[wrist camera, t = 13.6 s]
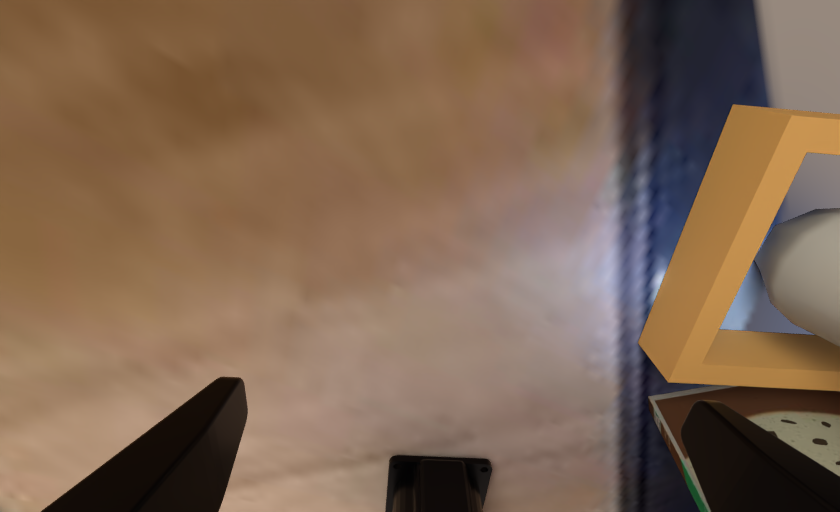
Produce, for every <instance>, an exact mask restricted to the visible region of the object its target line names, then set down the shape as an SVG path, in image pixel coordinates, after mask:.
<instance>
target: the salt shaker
mask: <svg viewBox="0 0 840 512" xmlns="http://www.w3.org/2000/svg"><path fill="white" fill-rule="evenodd" d="M754 260H755V262H756V264H757V266H758V268H759V270H760V272H761V275H762V278H763V281H764V284H765V287H766V290H767V293H768V296H769V299H770V302H771V303H772V304H773V305H774V306H775V307H776V308H777V309H778V310H779V311H780V312H781V313H782V314H783V315H784V316H785V317H786V318H787V319H788V320H789V321H790V322H792V323H793V324H795V325H796V326H799V327H801V328H803V329H805V330H807V331H809V332H811V333H813V334H815V335H817V336H819V337H821V338H823V339H825V340H827V341H829V342H831V343H833V344H835V345H837V346H839V347H840V208H834V209H815V210H813V211H810V212H807V213H805V214H803V215H800V216H798V217H795V218H793V219H790V220H788V221H785V222H783V223H780V224H778V225H775V226H774V228H773V229H772V231H771V233H770V234H769V236H768V237H767V239H766V241H765V242H764V244H763V245H762V247H761V248H760V250H759V252H758V253H757V255H756V256H755V258H754Z"/></svg>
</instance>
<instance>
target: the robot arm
mask: <svg viewBox="0 0 840 512" xmlns="http://www.w3.org/2000/svg"><path fill="white" fill-rule="evenodd" d="M247 414H248V408H247V400H246V393H245V386H244V382H243V380H242V379H241V378H238V377H220V378H218V379H216V380H215V381H213V382H212V383H211V384H209V385H208V386H207V387H205V388H204V389H203V390H201V391H200V392H199V393H197V394H196V395H195V396H193V397H192V398H191V399H189V400H188V401H187V402H185V403H184V404H183V405H182V406H180V407H179V408H178V409H176V410H175V411H174V412H172V413H171V414H170V415H168V416H167V417H166V418H164V419H163V420H162V421H160V422H159V423H158V424H156V425H155V426H154V427H152V428H151V429H150V430H148V431H147V432H146V433H144V434H143V435H142V436H140V437H139V438H138V439H136V440H135V441H134V442H132V443H131V444H130V445H128V446H127V447H126V448H124V449H123V450H122V451H120V452H119V453H118V454H116V455H115V456H114V457H112V458H111V459H110V460H109V461H107V462H106V463H105V464H103V465H102V466H101V467H99V468H98V469H97V470H95V471H94V472H93V473H91V474H90V475H89V476H87V477H86V478H85V479H83V480H82V481H81V482H79V483H78V484H77V485H75V486H74V487H73V488H71V489H70V490H69V491H67V492H66V493H65V494H63V495H62V496H61V497H59V498H58V499H57V500H55V501H54V502H53V503H51V504H50V505H49V506H47V507H46V508H45V509H43V510H42V511H41V512H218V511H219V509H220V506H221V504H222V501H223V498H224V494H225V491H226V488H227V485H228V481H229V478H230V475H231V471H232V468H233V464H234V461H235V458H236V454H237V451H238V448H239V444H240V441H241V437H242V434H243V431H244V427H245V424H246V420H247ZM681 439H682V442H683V445H684V447H685V450H686V452H687V454H688V457H689V459H690V462H691V464H692V467H693V469H694V472H695V474H696V477H697V479H698V481H699V484H700V486H701V489H702V491H703V494H704V496H705V499H706V501H707V503H708V506H709V508H710V510H711V512H840V476H838V475H837V474H835V473H834V472H832V471H830V470H829V469H827V468H826V467H824V466H822V465H821V464H819V463H818V462H816V461H814V460H813V459H811V458H810V457H808V456H806V455H805V454H803V453H802V452H800V451H798V450H797V449H795V448H794V447H792V446H790V445H789V444H787V443H786V442H784V441H782V440H781V439H779V438H778V437H776V436H774V435H773V434H771V433H770V432H768V431H766V430H765V429H763V428H762V427H760V426H758V425H757V424H755V423H754V422H752V421H750V420H749V419H747V418H746V417H744V416H743V415H741V414H739V413H738V412H736V411H735V410H733V409H731V408H730V407H728V406H727V405H725V404H723V403H722V402H719V401H714V400H697V401H696V402H695V403H694V404H693V405H692V407H691V409H690V411H689V413H688V415H687V417H686V419H685V421H684V423H683V425H682V427H681ZM491 472H492V466H491V462H490V461H489V460H488V459H476V458H451V457H425V456H400V455H397V456H393V457H391V458H390V460H389V473H388V486H387V499H386V511H385V512H483V510H482V509H483V505H484V501H485V497H486V493H487V489H488V484H489V480H490V476H491Z"/></svg>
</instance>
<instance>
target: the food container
mask: <svg viewBox="0 0 840 512" xmlns="http://www.w3.org/2000/svg"><path fill="white" fill-rule="evenodd" d="M697 400H714V401H719V402H722V403H723V404H725V405H727V406H728V407H730V408H731V409H733V410H735V411H736V412H738V413H739V414H741V415H743V416H744V417H746V418H747V419H749V420H750V421H752V422H754V423H755V424H757V425H758V426H760V427H762V428H763V429H765V430H766V431H768V432H770V433H771V434H773V435H774V436H776V437H778V438H779V439H781V440H782V441H784V442H786V443H787V444H789V445H790V446H792V447H794V448H795V449H797V450H798V451H800V452H802V453H803V454H805V455H806V456H808V457H810V458H811V459H813V460H814V461H816V462H818V463H819V464H821V465H822V466H824V467H826V468H827V469H829V470H830V471H832V472H834V473H835V474H837V475H838V476H840V391H828V390H808V389H788V388H769V387H749V386H730V385H713V386H707V387H701V388H696V389H690V390H684V391H678V392H672V393H667V394H661V395H655V396H649V397H648V402H649V411H650V413H651V415H652V417H653V419H654V421H655V423H656V424H657V426H658V428H659V430H660V432H661V434H662V436H663V438H664V440H665V442H666V444H667V446H668V448H669V450H670V452H671V454H672V456H673V458H674V460H675V462H676V464H677V466H678V468H679V470H680V472H681V474H682V476H683V478H684V480H685V482H686V484H687V486H688V488H689V490H690V492H691V494H692V496H693V498H694V500H695V502H696V504H697V506H698V508H699V510H700V512H711V510H710V508H709V506H708V503H707V501H706V499H705V496H704V494H703V491H702V489H701V486H700V484H699V481H698V479H697V477H696V474H695V472H694V469H693V467H692V464H691V462H690V459H689V457H688V454H687V452H686V450H685V447H684V445H683V442H682V439H681V427H682V425H683V423H684V421H685V419H686V417H687V415H688V413H689V411H690V409H691V407H692V405H693V404H694V403H695V402H696V401H697Z"/></svg>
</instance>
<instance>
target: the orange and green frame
mask: <svg viewBox="0 0 840 512" xmlns="http://www.w3.org/2000/svg"><path fill="white" fill-rule="evenodd" d="M807 152H809V153H820V154H832V155H840V114H831V113H821V112H809V111H798V110H788V109H777V108H766V107H755V106H744V105H733V106H732V108H731V111H730V113H729V116H728V118H727V121H726V123H725V126H724V128H723V131H722V133H721V136H720V138H719V141H718V143H717V146H716V148H715V151H714V153H713V156H712V158H711V161H710V163H709V166H708V168H707V171H706V173H705V176H704V178H703V181H702V183H701V186H700V188H699V191H698V193H697V196H696V198H695V201H694V203H693V206H692V209H691V211H690V214H689V216H688V219H687V221H686V224H685V226H684V229H683V231H682V234H681V236H680V239H679V241H678V244H677V246H676V249H675V251H674V254H673V256H672V259H671V261H670V264H669V266H668V269H667V271H666V274H665V276H664V279H663V281H662V284H661V286H660V289H659V291H658V294H657V296H656V299H655V301H654V304H653V306H652V309H651V311H650V314H649V316H648V319H647V321H646V324H645V327H644V329H643V332H642V334H641V337H640V339H639V342H638V344H639V345H640V346H641V348H642V349H643V350H644V351H645V353H646V354H647V355H648V357H649V358H650V359H651V361H652V362H653V363H654V365H655V366H656V367H657V368H658V370H659V371H660V372H661V374H662V375H663V376H664V378H665V379H666V380H667V382H671V383H691V384H710V385H730V386H749V387H769V388H788V389H808V390H828V391H840V347H839V346H837V345H835V344H833V343H831V342H829V341H827V340H825V339H823V338H821V337H819V336H817V335H806V334H788V333H772V332H755V331H738V330H721V329H719V328H720V326H721V324H722V322H723V320H724V318H725V316H726V314H727V312H728V310H729V308H730V306H731V304H732V302H733V300H734V298H735V296H736V294H737V292H738V290H739V288H740V286H741V284H742V282H743V280H744V278H745V276H746V274H747V272H748V270H749V268H750V266H751V264H752V262H753V260H754V258H755V256H756V254H757V252H758V250H759V248H760V246H761V244H762V242H763V240H764V238H765V236H766V234H767V232H768V230H769V228H770V226H771V224H772V222H773V220H774V218H775V216H776V214H777V212H778V209H779V207H780V205H781V203H782V201H783V199H784V197H785V195H786V193H787V191H788V189H789V187H790V185H791V183H792V181H793V179H794V177H795V175H796V173H797V171H798V169H799V167H800V165H801V163H802V161H803V159H804V157H805V155H806V153H807Z"/></svg>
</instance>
